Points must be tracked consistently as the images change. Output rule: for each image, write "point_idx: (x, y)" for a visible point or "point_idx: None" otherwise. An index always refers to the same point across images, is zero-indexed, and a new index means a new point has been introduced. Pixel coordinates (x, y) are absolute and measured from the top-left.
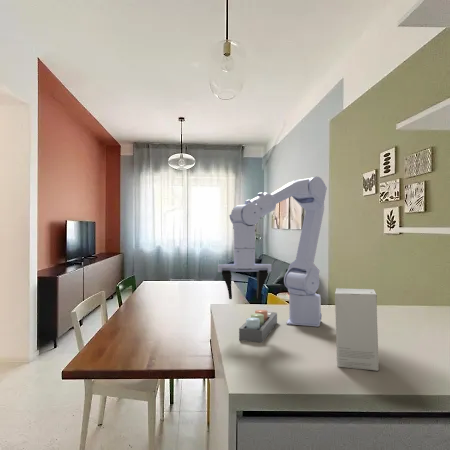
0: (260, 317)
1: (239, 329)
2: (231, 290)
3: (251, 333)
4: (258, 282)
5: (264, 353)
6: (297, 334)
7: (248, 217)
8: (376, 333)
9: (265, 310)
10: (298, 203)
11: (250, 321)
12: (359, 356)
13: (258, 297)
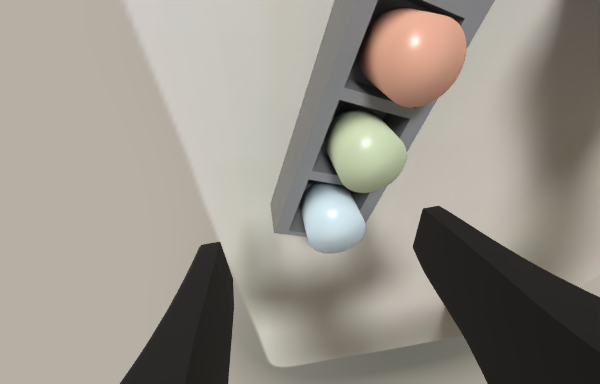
0: (379, 185)
1: (275, 229)
2: (229, 352)
3: None
4: (498, 366)
5: (335, 272)
6: (492, 121)
7: None
8: None
9: (459, 41)
10: None
11: (323, 251)
12: None
13: (421, 256)
